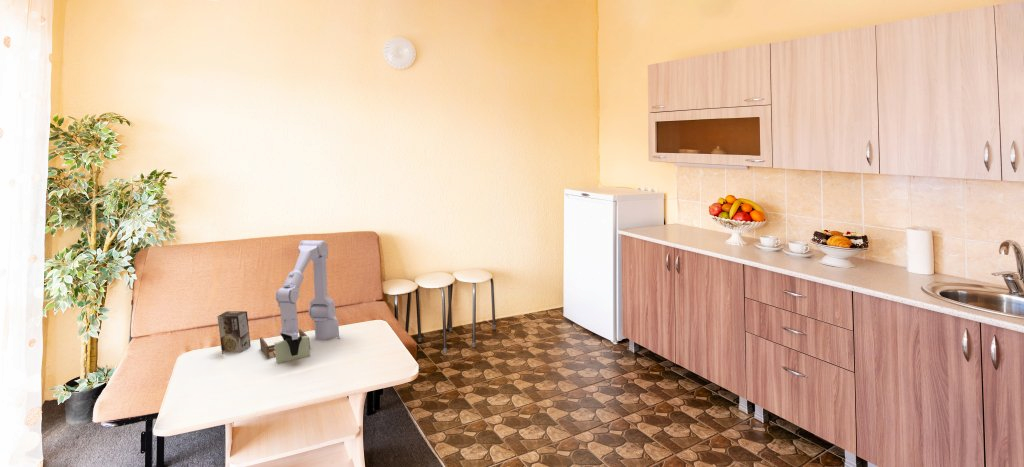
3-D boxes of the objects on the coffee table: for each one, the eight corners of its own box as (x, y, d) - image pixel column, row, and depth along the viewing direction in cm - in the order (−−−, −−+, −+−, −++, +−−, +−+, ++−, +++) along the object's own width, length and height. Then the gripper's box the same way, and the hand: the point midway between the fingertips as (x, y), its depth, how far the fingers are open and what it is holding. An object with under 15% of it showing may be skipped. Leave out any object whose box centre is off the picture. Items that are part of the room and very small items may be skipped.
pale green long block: (308, 354, 209) (307, 335, 208) (310, 356, 208) (308, 337, 206) (276, 362, 202) (274, 342, 201) (277, 364, 201) (275, 343, 200)
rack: (301, 342, 225) (300, 329, 224) (310, 351, 214) (309, 337, 213) (261, 351, 215) (259, 337, 214) (267, 361, 205) (266, 346, 204)
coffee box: (251, 348, 219) (248, 311, 216) (242, 354, 212) (238, 316, 210) (230, 348, 220) (226, 310, 217) (221, 354, 213) (216, 315, 211)
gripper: (273, 315, 206) (276, 348, 208) (282, 325, 194) (285, 360, 196) (292, 312, 210) (295, 344, 212) (302, 321, 198) (305, 356, 200)
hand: (292, 352), depth 204 cm, fingers open, 7 cm apart
